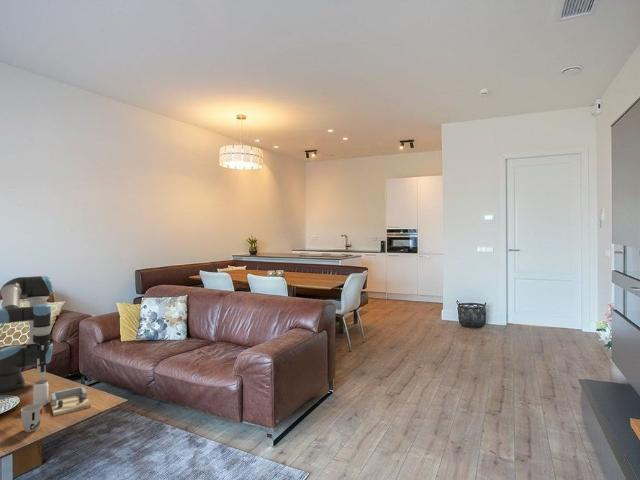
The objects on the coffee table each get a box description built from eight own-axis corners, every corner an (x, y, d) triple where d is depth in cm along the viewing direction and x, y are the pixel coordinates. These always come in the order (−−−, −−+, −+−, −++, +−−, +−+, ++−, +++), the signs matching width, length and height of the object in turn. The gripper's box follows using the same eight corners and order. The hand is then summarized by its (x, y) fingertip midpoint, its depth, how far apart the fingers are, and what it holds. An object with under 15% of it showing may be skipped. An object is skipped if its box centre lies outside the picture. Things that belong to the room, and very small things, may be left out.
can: (46, 400, 203) (46, 378, 203) (49, 404, 199) (50, 381, 199) (31, 404, 198) (31, 382, 198) (35, 408, 194) (35, 385, 194)
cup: (30, 434, 169) (30, 412, 169) (15, 432, 171) (16, 410, 171) (46, 425, 177) (47, 404, 177) (32, 423, 179) (33, 402, 179)
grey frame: (51, 398, 202) (51, 392, 202) (83, 391, 212) (83, 386, 212) (52, 405, 194) (53, 399, 194) (86, 398, 204) (86, 392, 203)
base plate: (49, 401, 202) (49, 393, 202) (84, 394, 212) (84, 386, 212) (53, 415, 187) (53, 406, 187) (90, 407, 197) (90, 398, 197)
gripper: (31, 330, 205) (31, 368, 206) (34, 340, 186) (33, 382, 186) (48, 328, 210) (47, 366, 210) (52, 338, 191) (52, 379, 191)
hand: (41, 374), depth 198 cm, fingers open, 13 cm apart
